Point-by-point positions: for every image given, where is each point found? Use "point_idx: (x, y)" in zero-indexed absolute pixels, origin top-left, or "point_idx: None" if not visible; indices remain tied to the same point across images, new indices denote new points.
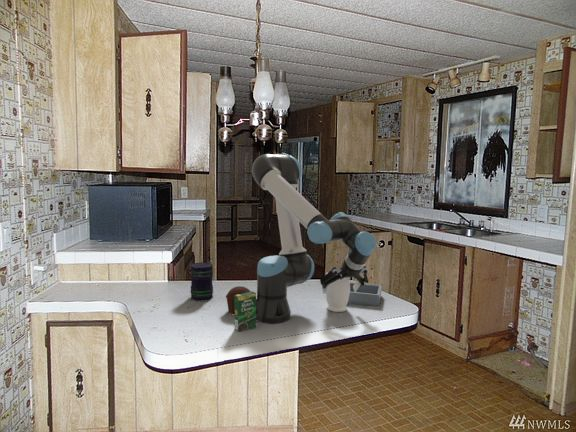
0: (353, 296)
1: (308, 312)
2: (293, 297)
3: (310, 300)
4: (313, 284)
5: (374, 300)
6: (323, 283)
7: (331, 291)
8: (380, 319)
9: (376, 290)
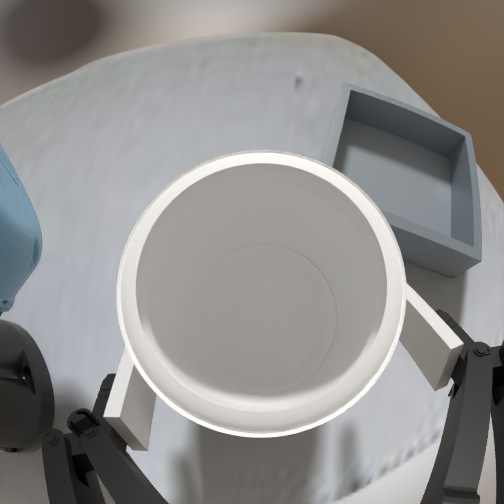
0: None
1: None
2: (105, 178)
3: None
4: (220, 58)
5: (451, 264)
6: (86, 477)
7: (198, 383)
8: (429, 440)
9: (448, 144)
